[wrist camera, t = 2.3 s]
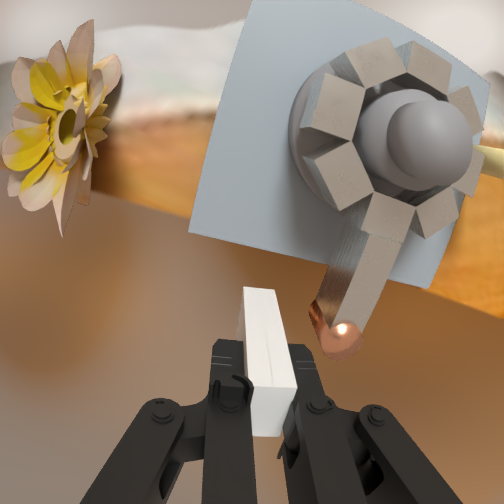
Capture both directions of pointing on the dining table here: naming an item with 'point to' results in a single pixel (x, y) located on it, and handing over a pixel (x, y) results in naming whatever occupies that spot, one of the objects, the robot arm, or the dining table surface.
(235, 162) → the base
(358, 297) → the grey gear lever
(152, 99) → the dining table surface
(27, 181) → the decorative flower
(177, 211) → the dining table surface
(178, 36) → the dining table surface
